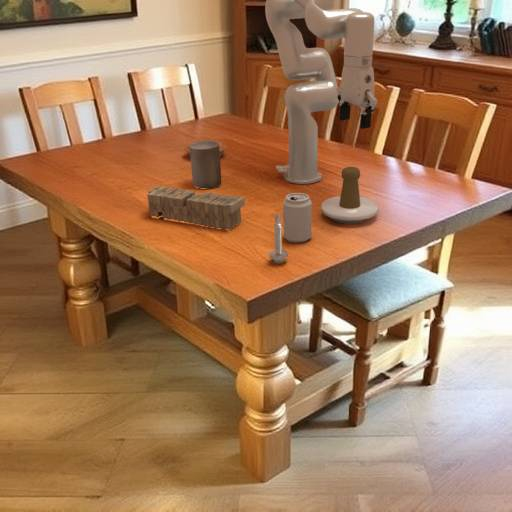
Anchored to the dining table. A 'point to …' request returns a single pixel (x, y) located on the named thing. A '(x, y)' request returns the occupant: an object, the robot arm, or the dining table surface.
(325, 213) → the grey plate
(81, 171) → the dining table surface
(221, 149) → the pie
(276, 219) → the screw
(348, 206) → the cork
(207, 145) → the pillar candle
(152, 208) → the block tower
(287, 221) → the can
